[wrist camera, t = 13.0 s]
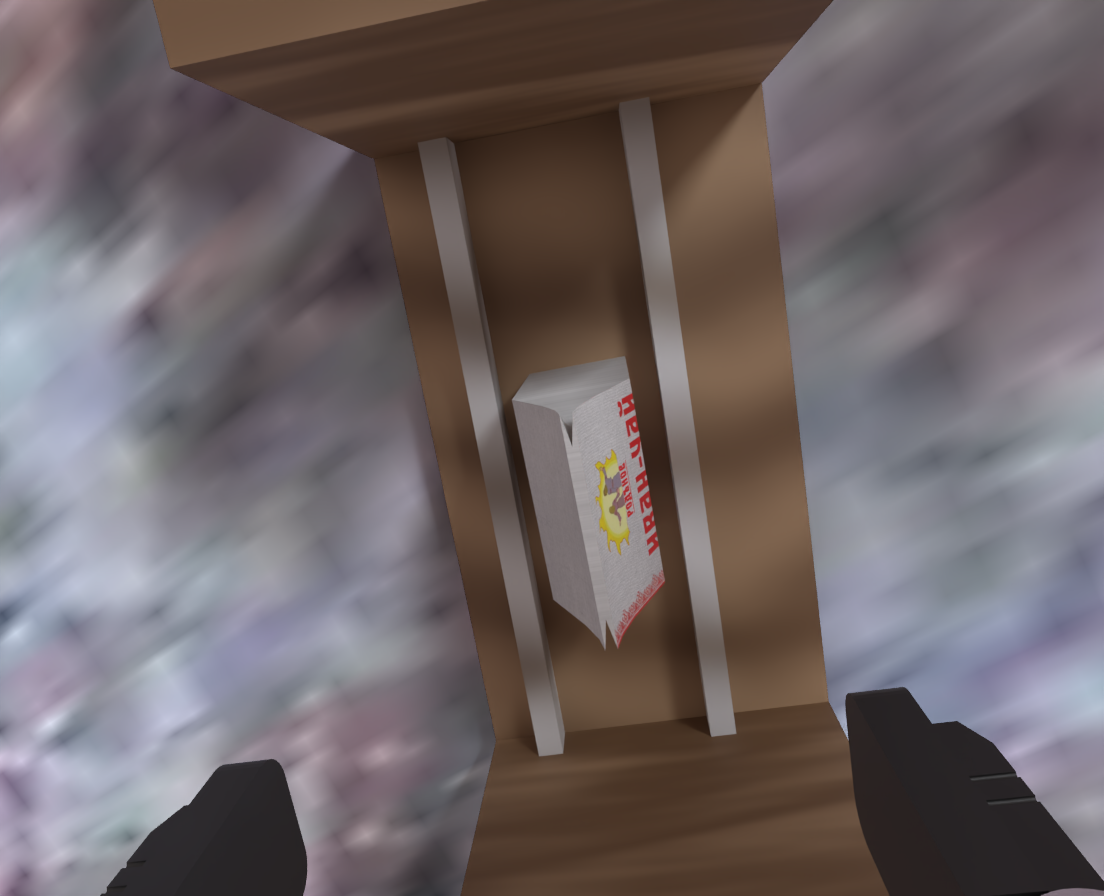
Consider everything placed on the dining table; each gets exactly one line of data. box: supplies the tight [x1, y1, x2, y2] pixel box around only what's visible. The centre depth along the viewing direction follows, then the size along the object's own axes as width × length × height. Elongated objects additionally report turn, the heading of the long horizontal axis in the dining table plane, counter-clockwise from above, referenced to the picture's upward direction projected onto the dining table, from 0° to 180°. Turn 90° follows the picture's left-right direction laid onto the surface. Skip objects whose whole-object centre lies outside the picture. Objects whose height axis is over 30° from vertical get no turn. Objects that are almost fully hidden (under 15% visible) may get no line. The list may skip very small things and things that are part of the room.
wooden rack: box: [153, 0, 889, 896], centre depth 25 cm, size 27×14×16 cm, turn 10°
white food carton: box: [512, 356, 665, 649], centre depth 26 cm, size 4×7×10 cm, turn 11°
